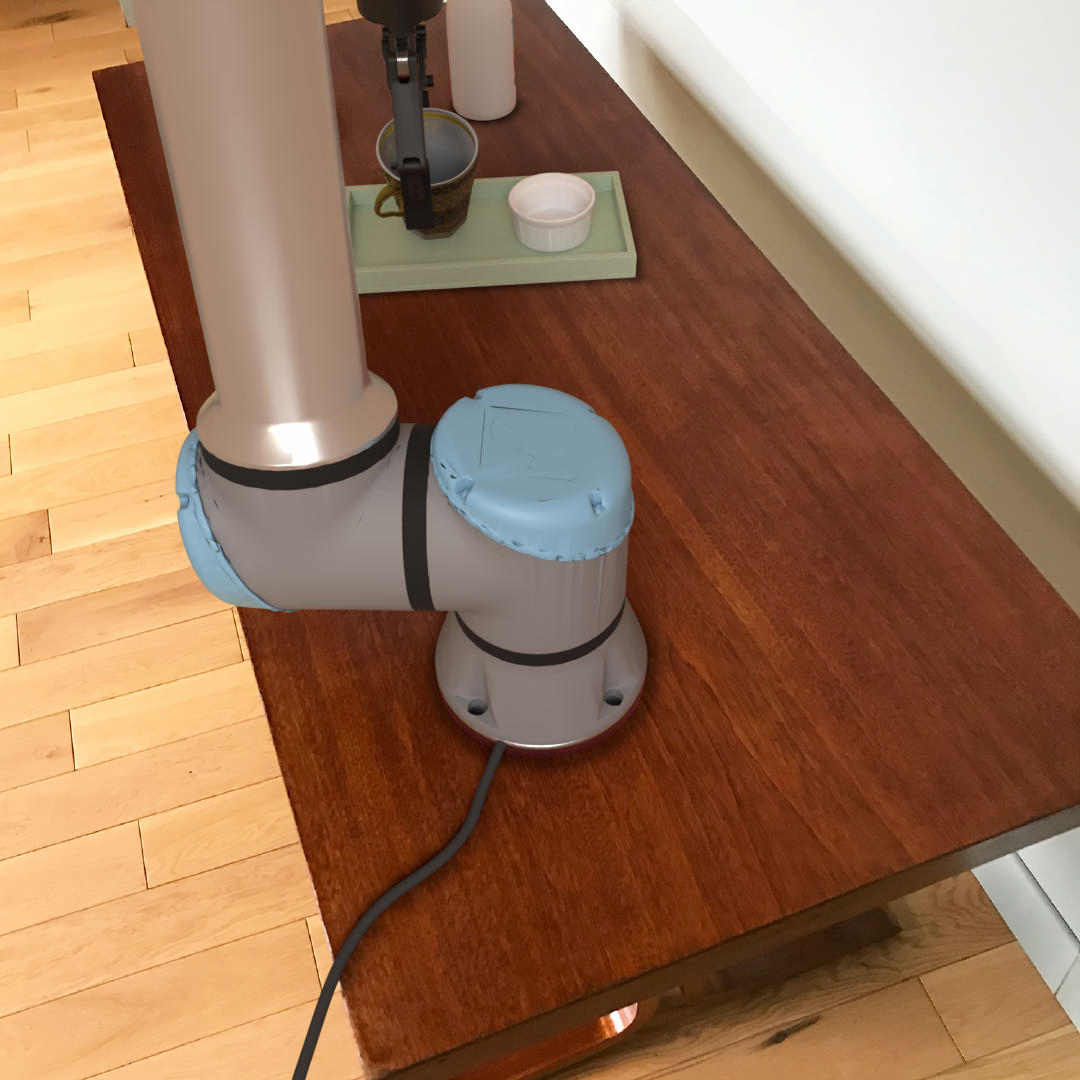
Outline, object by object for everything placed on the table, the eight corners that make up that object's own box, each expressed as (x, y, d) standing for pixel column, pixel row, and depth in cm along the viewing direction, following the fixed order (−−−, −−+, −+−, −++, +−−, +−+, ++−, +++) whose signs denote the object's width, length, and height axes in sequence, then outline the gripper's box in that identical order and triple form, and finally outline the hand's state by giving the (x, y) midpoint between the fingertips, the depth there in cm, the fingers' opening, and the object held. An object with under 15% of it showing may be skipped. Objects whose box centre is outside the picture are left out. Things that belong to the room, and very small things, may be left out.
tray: (635, 277, 112) (636, 255, 110) (340, 295, 111) (336, 273, 109) (617, 192, 122) (618, 170, 120) (346, 207, 121) (343, 186, 119)
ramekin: (569, 266, 112) (569, 229, 109) (493, 242, 115) (491, 205, 112) (609, 222, 117) (610, 185, 114) (536, 200, 120) (535, 163, 117)
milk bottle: (515, 122, 132) (508, -56, 117) (450, 123, 132) (435, -55, 117) (517, 90, 137) (511, -85, 122) (455, 91, 137) (440, -84, 122)
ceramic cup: (428, 163, 120) (420, 91, 111) (501, 209, 118) (499, 139, 108) (348, 240, 116) (333, 171, 106) (422, 288, 113) (414, 223, 104)
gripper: (442, 24, 86) (461, 259, 102) (438, -93, 103) (456, 124, 119) (344, 29, 86) (379, 263, 102) (357, -89, 103) (385, 128, 118)
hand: (420, 189), depth 110 cm, fingers open, 13 cm apart
